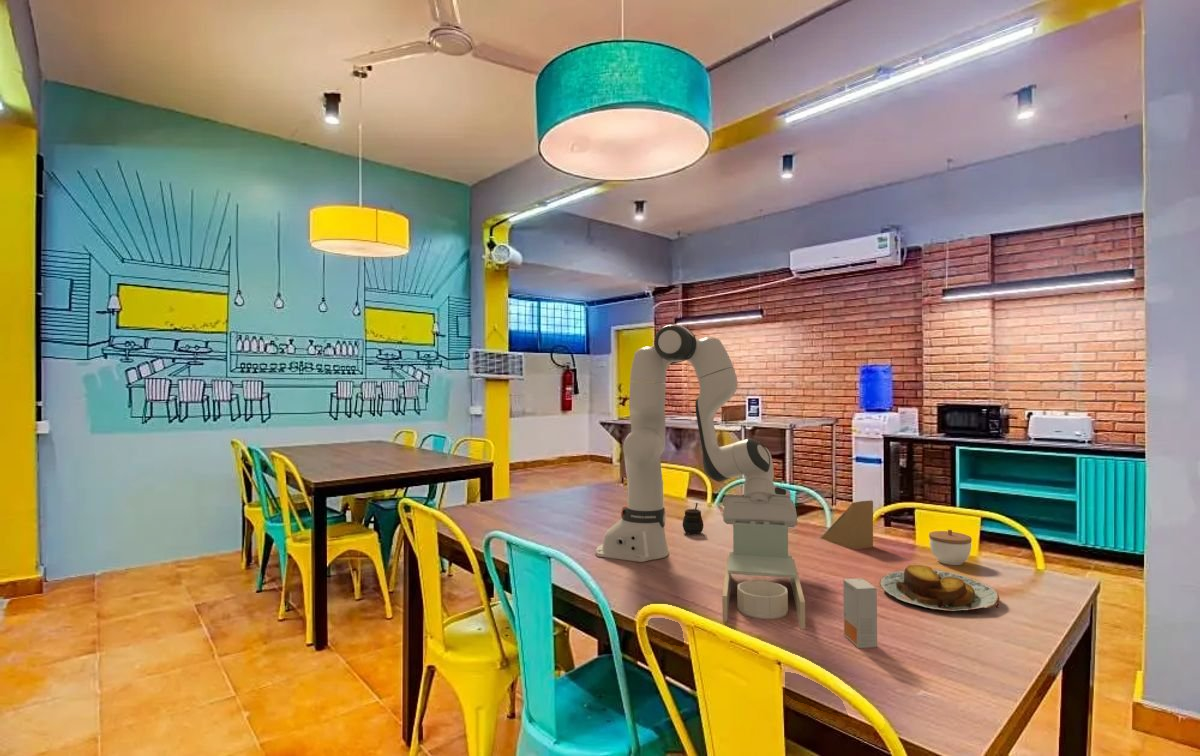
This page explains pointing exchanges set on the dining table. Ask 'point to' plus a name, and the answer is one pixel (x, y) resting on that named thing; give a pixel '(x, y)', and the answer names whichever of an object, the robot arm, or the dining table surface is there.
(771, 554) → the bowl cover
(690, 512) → the mate gourd
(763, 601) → the bowl stand
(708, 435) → the robot arm
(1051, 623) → the dining table surface
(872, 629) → the skincare box
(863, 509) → the sandwich container
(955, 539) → the lidded jar
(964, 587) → the food on plate
